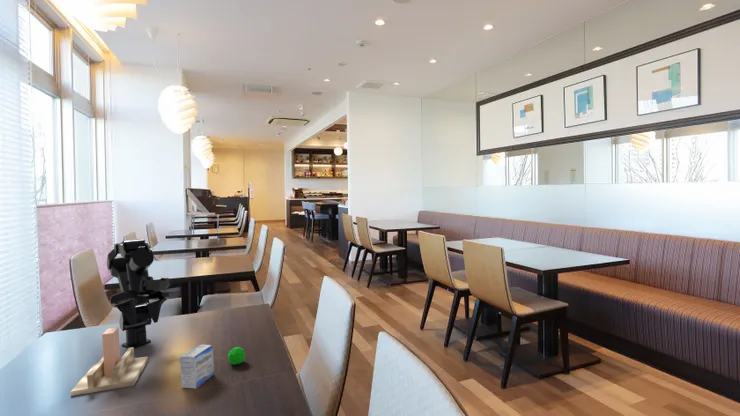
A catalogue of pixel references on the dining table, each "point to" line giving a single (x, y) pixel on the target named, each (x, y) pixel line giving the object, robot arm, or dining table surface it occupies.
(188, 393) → the dining table surface
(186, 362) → the medicine box
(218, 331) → the dining table surface
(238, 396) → the dining table surface
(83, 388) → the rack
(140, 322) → the robot arm
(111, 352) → the pink rectangular block
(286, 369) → the dining table surface
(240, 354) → the polyhedron
